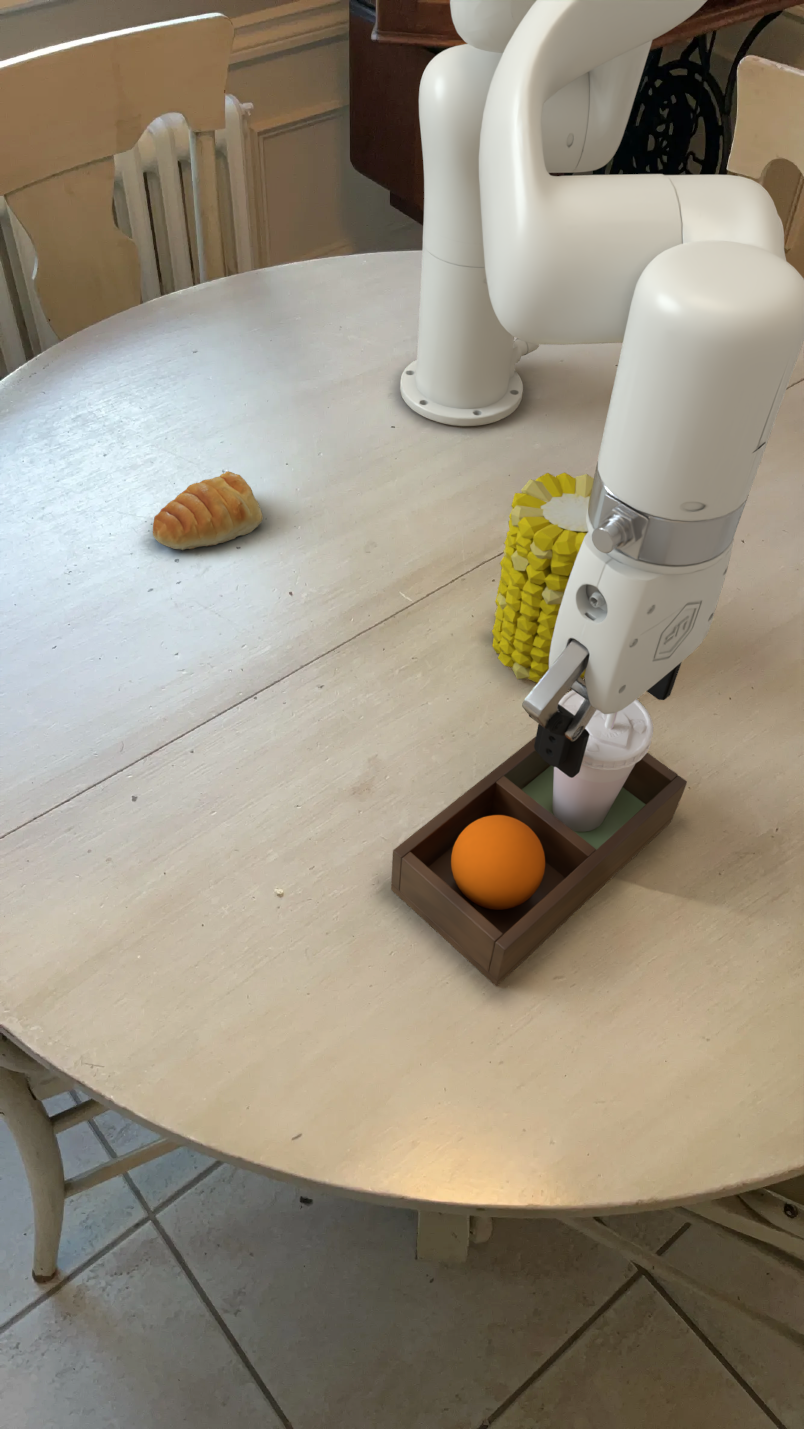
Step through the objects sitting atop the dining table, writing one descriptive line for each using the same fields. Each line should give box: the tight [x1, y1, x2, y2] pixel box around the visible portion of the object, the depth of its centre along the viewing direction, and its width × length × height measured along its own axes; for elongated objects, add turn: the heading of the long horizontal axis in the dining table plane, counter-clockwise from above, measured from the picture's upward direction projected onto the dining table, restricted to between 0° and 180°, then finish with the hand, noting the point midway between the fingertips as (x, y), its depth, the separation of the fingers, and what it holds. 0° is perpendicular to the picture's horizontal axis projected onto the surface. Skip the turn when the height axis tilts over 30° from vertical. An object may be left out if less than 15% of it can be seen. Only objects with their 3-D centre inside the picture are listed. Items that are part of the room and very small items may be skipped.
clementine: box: [451, 815, 545, 910], centre depth 67 cm, size 6×6×6 cm
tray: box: [390, 736, 688, 987], centre depth 70 cm, size 10×18×5 cm, turn 134°
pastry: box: [152, 470, 264, 551], centre depth 92 cm, size 9×7×4 cm
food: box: [491, 472, 594, 684], centre depth 80 cm, size 15×12×10 cm
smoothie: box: [552, 689, 654, 832], centre depth 68 cm, size 6×6×14 cm
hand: (602, 722), depth 66 cm, fingers open, 8 cm apart
